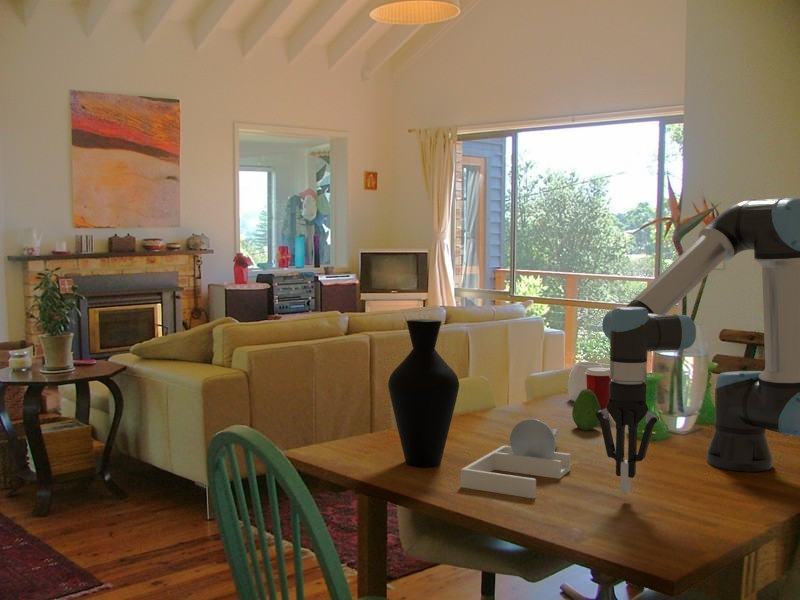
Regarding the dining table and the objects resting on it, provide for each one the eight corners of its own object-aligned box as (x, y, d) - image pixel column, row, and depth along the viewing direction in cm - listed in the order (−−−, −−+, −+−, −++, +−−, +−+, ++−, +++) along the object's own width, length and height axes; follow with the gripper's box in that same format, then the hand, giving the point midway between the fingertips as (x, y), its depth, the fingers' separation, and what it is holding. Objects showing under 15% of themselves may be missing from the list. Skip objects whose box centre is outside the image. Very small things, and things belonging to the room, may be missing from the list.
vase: (376, 469, 202) (377, 322, 199) (403, 452, 217) (403, 316, 215) (445, 477, 195) (446, 325, 193) (467, 459, 211) (468, 319, 209)
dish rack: (570, 470, 201) (570, 453, 201) (534, 498, 179) (534, 479, 179) (503, 461, 209) (503, 445, 209) (460, 487, 187) (461, 469, 187)
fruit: (591, 426, 249) (592, 385, 248) (606, 432, 241) (606, 390, 241) (567, 428, 246) (567, 387, 246) (581, 434, 239) (582, 391, 238)
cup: (562, 400, 289) (563, 361, 288) (600, 399, 291) (600, 360, 290) (574, 407, 276) (575, 366, 275) (613, 407, 277) (614, 366, 277)
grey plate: (555, 467, 199) (556, 421, 198) (553, 468, 198) (554, 422, 197) (511, 461, 204) (512, 416, 204) (509, 462, 203) (510, 417, 203)
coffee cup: (615, 416, 263) (616, 368, 262) (606, 421, 256) (607, 372, 255) (589, 413, 267) (590, 366, 266) (579, 418, 260) (580, 369, 259)
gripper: (663, 380, 177) (660, 491, 179) (601, 375, 184) (599, 482, 185) (655, 386, 171) (652, 501, 172) (592, 380, 177) (589, 491, 179)
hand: (625, 491), depth 179 cm, fingers closed
